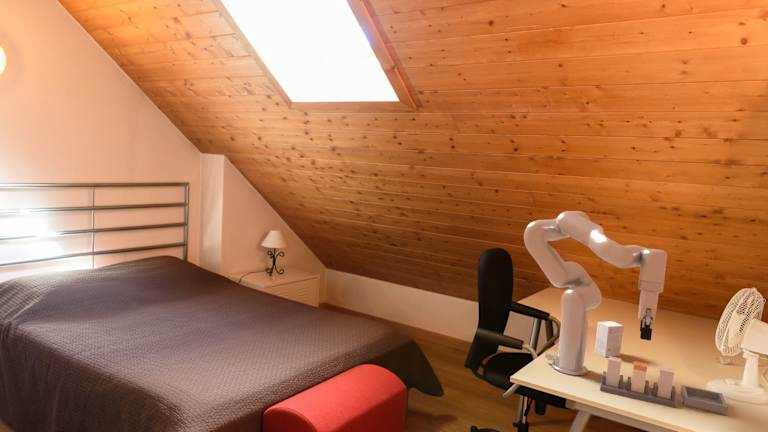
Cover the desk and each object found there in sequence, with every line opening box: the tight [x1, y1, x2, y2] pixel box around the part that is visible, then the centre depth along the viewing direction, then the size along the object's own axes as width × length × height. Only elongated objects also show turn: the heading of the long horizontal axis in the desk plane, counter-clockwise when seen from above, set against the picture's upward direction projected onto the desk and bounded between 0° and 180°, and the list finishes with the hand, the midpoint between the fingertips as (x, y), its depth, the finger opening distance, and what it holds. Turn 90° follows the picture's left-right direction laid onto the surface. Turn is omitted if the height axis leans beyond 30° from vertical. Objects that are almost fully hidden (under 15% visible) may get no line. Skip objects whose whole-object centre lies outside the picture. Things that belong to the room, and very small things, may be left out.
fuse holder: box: [599, 356, 677, 408], centre depth 184 cm, size 23×10×10 cm, turn 65°
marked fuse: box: [631, 360, 648, 393], centre depth 184 cm, size 4×4×9 cm
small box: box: [594, 320, 624, 358], centre depth 223 cm, size 8×6×13 cm
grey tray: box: [680, 384, 728, 416], centre depth 180 cm, size 12×12×3 cm
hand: (645, 335), depth 183 cm, fingers open, 9 cm apart
